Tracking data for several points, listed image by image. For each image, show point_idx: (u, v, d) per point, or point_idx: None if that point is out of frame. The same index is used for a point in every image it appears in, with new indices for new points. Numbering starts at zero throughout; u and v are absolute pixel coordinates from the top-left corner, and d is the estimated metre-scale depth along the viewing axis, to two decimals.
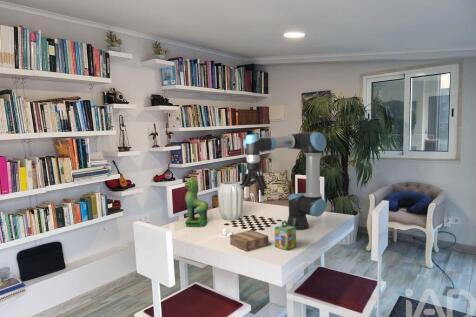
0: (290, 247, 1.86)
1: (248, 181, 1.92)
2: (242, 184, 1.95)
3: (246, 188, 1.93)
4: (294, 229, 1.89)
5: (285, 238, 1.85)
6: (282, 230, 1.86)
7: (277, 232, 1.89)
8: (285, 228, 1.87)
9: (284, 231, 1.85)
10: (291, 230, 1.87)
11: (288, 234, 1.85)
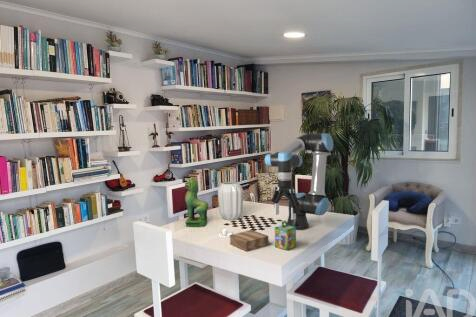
0: (290, 247, 1.86)
1: (279, 198, 1.92)
2: (272, 201, 1.95)
3: (276, 205, 1.94)
4: (294, 229, 1.89)
5: (285, 238, 1.85)
6: (282, 230, 1.86)
7: (277, 232, 1.89)
8: (285, 228, 1.87)
9: (284, 231, 1.85)
10: (291, 230, 1.87)
11: (288, 234, 1.85)
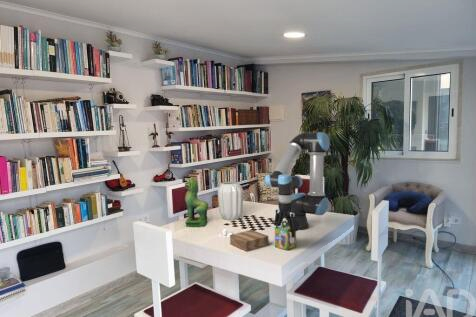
0: (290, 247, 1.86)
1: (280, 221, 1.93)
2: (274, 224, 1.95)
3: None
4: None
5: (285, 237, 1.85)
6: (282, 230, 1.86)
7: (277, 232, 1.89)
8: (285, 228, 1.87)
9: (284, 231, 1.85)
10: None
11: (288, 234, 1.85)
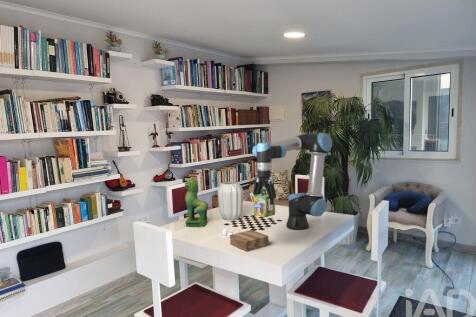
0: (269, 214, 1.87)
1: (259, 189, 1.94)
2: (254, 193, 1.96)
3: None
4: None
5: (263, 205, 1.86)
6: (261, 197, 1.87)
7: (256, 200, 1.90)
8: (264, 196, 1.88)
9: (263, 198, 1.86)
10: None
11: (267, 201, 1.86)
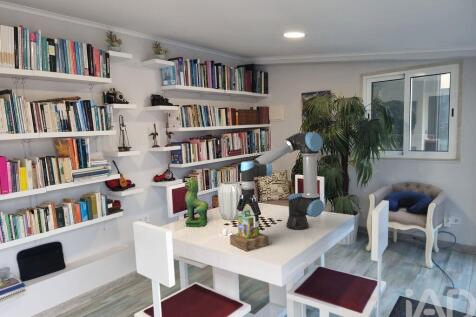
0: (252, 235, 1.91)
1: (243, 206, 1.98)
2: (237, 208, 2.01)
3: (241, 212, 1.99)
4: None
5: (246, 226, 1.89)
6: (244, 219, 1.91)
7: (240, 221, 1.93)
8: (247, 217, 1.91)
9: (246, 220, 1.90)
10: (253, 219, 1.91)
11: (250, 223, 1.89)
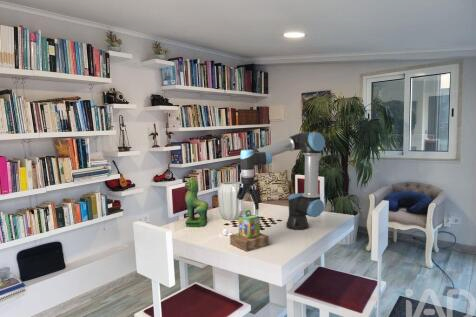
0: (253, 235, 1.91)
1: (243, 194, 1.97)
2: (237, 197, 2.00)
3: (241, 201, 1.99)
4: (257, 218, 1.93)
5: (247, 226, 1.89)
6: (245, 219, 1.90)
7: (240, 221, 1.93)
8: (248, 217, 1.91)
9: (247, 220, 1.89)
10: (254, 219, 1.91)
11: (250, 223, 1.89)
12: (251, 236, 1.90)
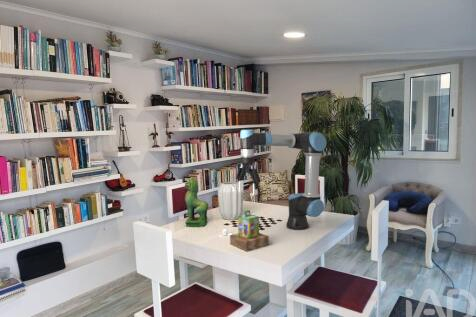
0: (252, 236, 1.91)
1: (242, 175, 1.96)
2: (237, 178, 1.99)
3: (240, 182, 1.98)
4: (257, 218, 1.93)
5: (247, 226, 1.89)
6: (244, 219, 1.90)
7: (240, 221, 1.93)
8: (248, 217, 1.91)
9: (246, 220, 1.90)
10: (254, 219, 1.91)
11: (250, 223, 1.89)
12: (251, 236, 1.90)
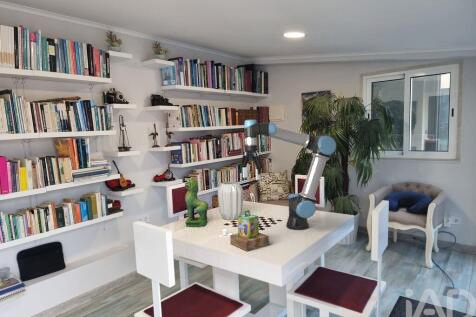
0: (252, 235, 1.91)
1: (246, 162, 2.13)
2: (241, 165, 2.16)
3: (244, 168, 2.14)
4: (256, 218, 1.94)
5: (247, 226, 1.90)
6: (244, 219, 1.91)
7: (240, 221, 1.93)
8: (247, 217, 1.92)
9: (246, 220, 1.90)
10: (254, 219, 1.92)
11: (250, 223, 1.89)
12: (251, 236, 1.90)
